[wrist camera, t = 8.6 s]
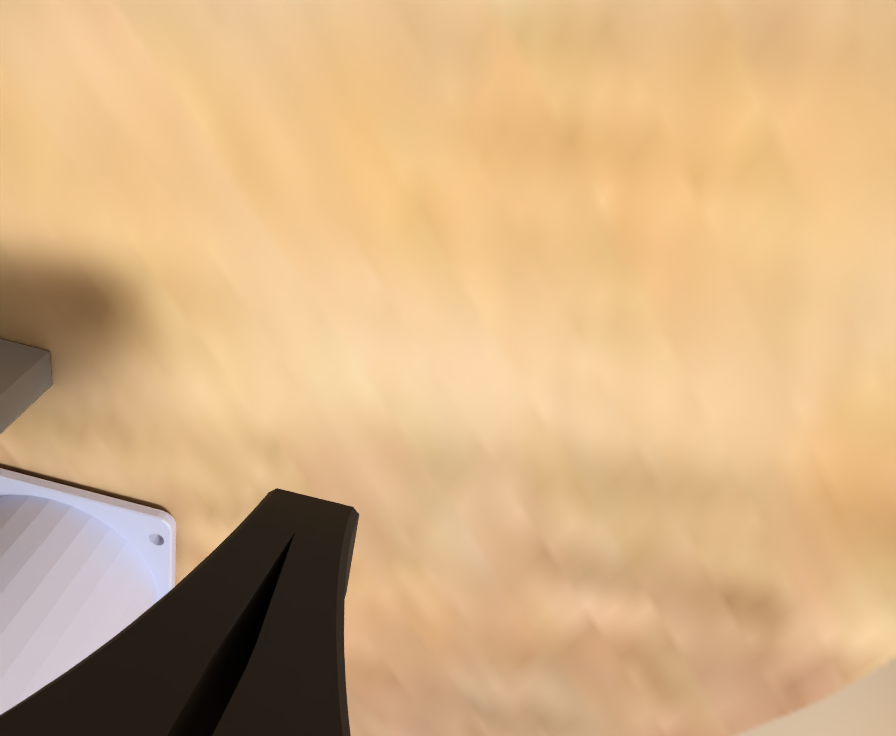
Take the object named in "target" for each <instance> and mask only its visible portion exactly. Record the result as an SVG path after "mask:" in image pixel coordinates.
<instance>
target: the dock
mask: <svg viewBox="0 0 896 736" xmlns="http://www.w3.org/2000/svg"><path fill="white" fill-rule="evenodd" d="M51 385H52V374H51V364H50V353H49V351H46V350H42V349H39V348H35V347H31V346H27V345H23V344H19V343H15V342H12V341H8V340H4V339H0V434H1V433H2V432H3V431H4V430H5V429H6V428H7V427H8V426H9V425H11V424H12V423H13V422H14V421H15V420H16V419H17V418H18V417H19V416H20V415H21V414H22V413H23V412H24V411H25V410H26V409H27V408H28V407H29V406H30V405H31V404H32V403H34V402H35V401H36V400H37V399H38V398H39V397H40V396H41V395H42V394H43V393H44V392H45V391H46V390H47V389H48V388H49V387H50V386H51Z"/></svg>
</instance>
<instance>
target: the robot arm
mask: <svg viewBox="0 0 896 736" xmlns="http://www.w3.org/2000/svg"><path fill="white" fill-rule="evenodd" d="M358 518H359V514H358V512H357V511H356V510H355V509H354V507H351V506H347V505H343V504H339V503H335V502H330V501H326V500H322V499H318V498H314V497H310V496H306V495H302V494H298V493H294V492H290V491H285V490H281V489H275V490H273V491H271V492H269V493H268V494H267V495H266V496H265V498H264V499H263V500H262V501H261V502H260V503H259V505H258V506H257V507H256V508H255V509H254V510H253V511H252V512H251V513H250V514H249V515H248V517H247V518H246V519H245V520H244V521H243V522H242V523H241V524H240V525H239V526H238V527H237V528H236V529H235V530H234V531H233V532H232V533H231V534H230V535H229V536H228V537H227V538H226V539H225V540H224V541H223V542H222V543H221V544H220V545H219V546H218V547H217V548H216V549H215V550H214V551H213V552H212V553H211V554H210V555H209V556H208V557H207V558H205V559H204V560H203V561H202V562H201V563H200V564H199V565H198V566H197V567H196V568H195V569H194V570H193V571H191V572H190V573H189V574H188V575H187V576H186V577H185V578H184V579H183V580H182V581H181V582H180V583H178V584H177V585H176V586H175V564H176V523H175V520H174V519H173V517H172V516H171V515H170V514H169V513H167V512H165V511H162V510H159V509H155V508H151V507H147V506H143V505H140V504H136V503H132V502H128V501H124V500H121V499H117V498H113V497H109V496H105V495H101V494H98V493H94V492H90V491H86V490H82V489H78V488H75V487H71V486H67V485H63V484H59V483H56V482H52V481H48V480H44V479H40V478H36V477H33V476H29V475H25V474H21V473H17V472H13V471H10V470H6V469H2V468H0V736H350V727H349V718H348V707H347V695H346V680H345V659H344V599H345V595H346V591H347V585H348V579H349V573H350V567H351V561H352V555H353V549H354V543H355V537H356V530H357V524H358ZM159 535H160V536H159Z"/></svg>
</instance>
